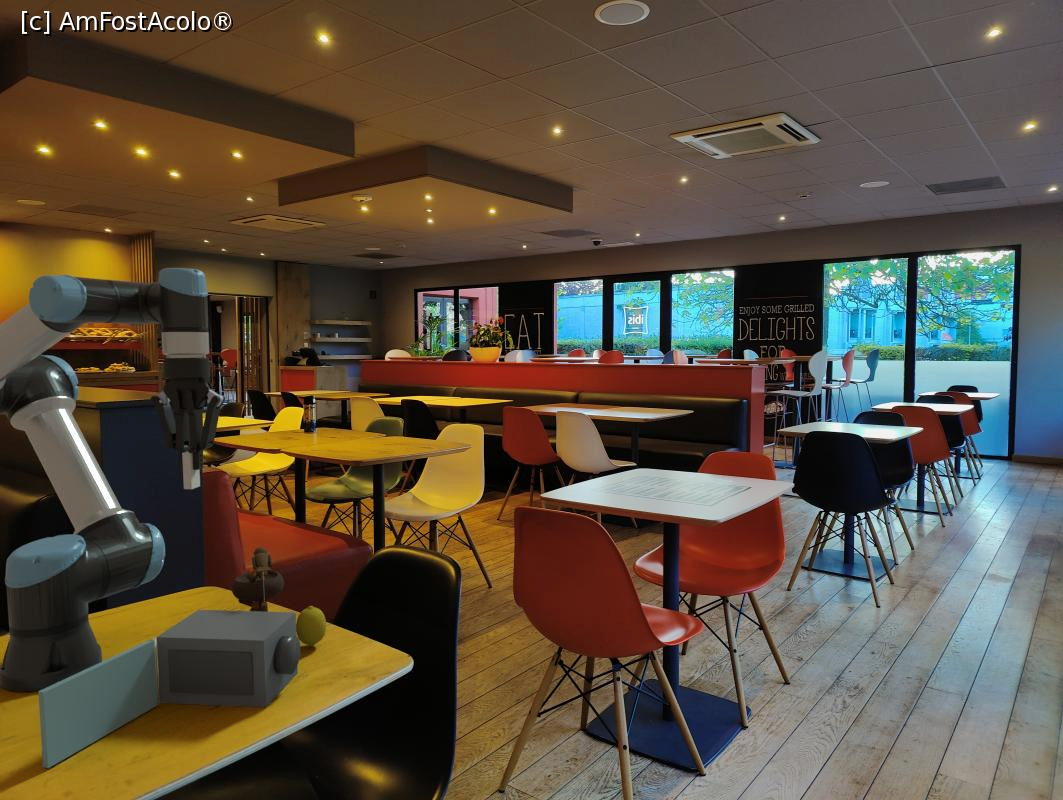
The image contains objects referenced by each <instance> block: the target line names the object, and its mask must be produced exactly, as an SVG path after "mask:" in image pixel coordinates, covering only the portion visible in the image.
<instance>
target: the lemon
mask: <svg viewBox="0 0 1063 800" xmlns="http://www.w3.org/2000/svg"><path fill="white" fill-rule="evenodd" d="M326 630H327V620H326V616H325V614H324V613H323V611H322V610H321V609H320V608H318V607H315V606H313V605H309V606H308V607H306V608H304V609H303V610H301V612H300V613H299V614H298V615H297V618H296V636H297V637H298V639H299V641H300V643H302V644H305V645H308V646H309V647H310V648H312V646H313V647H314V646H315V645H316V644H318V643H319V642H321V641H322V640H323V638H324V637H325V635H326V632H327V631H326Z"/></svg>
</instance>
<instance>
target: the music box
mask: <svg viewBox="0 0 1063 800" xmlns="http://www.w3.org/2000/svg"><path fill="white" fill-rule="evenodd" d="M252 553H253V556H252V557H251V565H252V569H250V570H249V572H244V573H242V574H239V575H237V576H236V578H234V580H233V581H232V584H231V593H232V595H233V596H234V597H235V598H236V599H237V600H238V601H237V602H238V603H239V604H242V605H245V606H246V607H247V606H248V607H250V609H249V611H262V612H269V609H268V607H269V606H268V602H267V601H268V600H269V599H272V598H275V597H277V596H278V595H279V594H280V593H281V592H282V590H283V589H284V585H285V582H284V581H285V580H284V578H283V576H282V574H281V573H280V572H279V571H276V570H272V567H273V562H272V557H271V554H268V550H267V549H266V548H265V547H263V546H258V547H256V548H255V550H254V551H253V552H252ZM256 569H257V570H256Z"/></svg>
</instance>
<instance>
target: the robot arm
mask: <svg viewBox="0 0 1063 800" xmlns="http://www.w3.org/2000/svg"><path fill="white" fill-rule="evenodd" d="M28 292H29V293H28V301H29V302H28V303H27V304H26V305H25V306H23V307H22V308H20V309H19V310H18V311H16V312H15V313H13V314H12V315H11V316H9V317H8V318H7V319H6V320H4V321H3V322H1V324H0V415H6V417H7V419H8V421H9V423H10V424H11V427H13V428H14V429H15V430H18V431H19V430H20V431H24V432H25V434H26V436H27V438H28V440H29V443H30V444H31V446H32V447H33V448H32V449H33V450H34V452H35V454H36V456H37V457H38V460H39V462H40V463H41V466H42V467H43V469H44V471H45V474H46V475H47V477H48V479H49V481H50V483H51V484H52V487H53V489H54V491H55V493H56V494H57V497H58V499H59V500H60V502H61V505H62V506H63V509H64V510H65V512H66V514H67V516H68V518H69V520H70V522H71V524H72V526H73V528H74V532H73V534H59V535H55V536H51V537H50V536H47V537H45V538H44V537H43V538H41V539H38V540H37V539H36V540H34V541H31V542H29V543H26V544H24V545H21V546H20V547H18V548H16V549H15V550H14V551H12V552H11V554H10V555H9V556H8V557H7V559H6V563H5V577H4V584H5V586H6V597H7V614H8V626H9V627H8V628H9V629H8V630H9V639H8V642H7V645H6V648H5V652H4V656H3V659H2V664H1V666H0V687H1V688H3V689H4V690H8V691H11V692H32V691H34V692H35V691H40V690H43V689H45V688H47V687H49V686H51V685H53V684H55V683H58V682H60V681H62V680H64V679H66V678H68V677H70V676H73V675H75V674H77V673H79V672H81V671H83V670H85V669H88V668H90V667H92V666H94V665H96V664H98V663H100V662H103V651H102V648H101V646H100V644H99V643H98V640H97V638H96V636H95V633H94V631H93V629H92V626H91V625H90V621H89V620H90V619H89V618H90V617H89V604H90V603H91V602H92V603H93V602H95V601H98V600H101V599H102V600H103V599H104V598H107V597H110V596H112V595H113V596H114V595H115V594H118V593H121V592H125V591H127V590H131V589H132V590H133V589H136V588H139V587H140V586H142V585H144V584H146V583H150V582H151V581H153V580H154V579H155V578H156V577H157V576H158V575H159V574H160V572H162V568H163V567H164V564H165V563H164V562H165V557H166V543H165V540H164V537H163V535H162V533H161V531H160V530H159V529H158V528H157V527H156V526H155V525H153V524H151V523H147V522H145V523H144V522H143V523H140V521H139V519H138V518H137V516H136V514H135V512H134V511H131V510H130V509H128V510H127V509H125V508H122V506H121V505H120V503H119V501H118V499H117V496H116V495H115V493H114V491H113V489H112V487H111V486H110V484H109V482H108V479H107V478H106V476H105V474H104V472H103V471H102V468H101V466H100V464H99V462H98V461H97V458H96V457H95V455H94V453H93V451H92V450H91V448H90V446H89V443H88V441H87V440H86V438H85V436H84V434H83V432H82V431H81V428H80V427H79V425H78V423H77V421H76V419H75V417H74V415H73V412H74V411H75V409H76V405H77V404H76V402H77V400H78V397H79V395H80V394H79V392H80V388H79V387H78V386H77V385H78V384H79V381H78V380H79V379H78V377H77V374H76V373H75V371H74V369H73V368H72V366H71V365H70V364H69V363H68V362H66V360H64V359H63V358H60V357H57V356H55V355H45V354H44V355H43V353H45V352H46V351H47V350H49V349H50V348H52V347H54V345H56V344H57V343H59V342H60V341H61V340H63V339H64V338H66V337H67V336H69V335H70V334H72V333H73V332H74V331H76V330H77V329H79V328H81V327H82V326H84V325H85V324H123V325H129V326H145V325H155V324H159V325H160V324H161V329H160V330H161V348H162V349H161V351H162V353H161V354H163V356H166V358H164V359H163V360H162V368H163V369H162V370H163V374H162V375H163V378H164V380H165V383H164V385H163V387H162V391H161V392H160V393H159V394H157V395H153V396H151V397H150V402H151V403H152V404H153V406H154V407H155V409H156V412H157V417H158V419H159V422H160V426H161V430H162V431H161V432H162V433H163V437H164V441H165V444H166V445H165V446H166V448H167V449H169V450H171V449H172V450H175V451H176V452H177V455H178V468H179V470H180V471H182V473H183V476H182V477H183V490H194V489H196V488H199V487H201V474H200V470H202V469H203V468H204V451H205V450H208V449H209V448H211V447H213V446H214V444H215V438H216V433H217V429H218V422H219V419H220V412H221V408H222V406H223V404H224V403H225V401H226V396H225V395H223V394H218V393H217V392H215V391H214V390H213V386H212V384H211V382H210V378H211V363H210V362H211V360H210V359H209V357H207V356H206V355H209V354H210V337H209V307H208V296H209V293H208V287H207V280H206V274H205V272H203V271H202V270H200V269H197V268H195V269H194V268H188V267H187V268H185V267H165V268H162V269H161V270H159V272H158V281H155V282H154V281H153V282H152V281H151V282H139V281H138V282H137V281H128V280H127V281H126V280H117V279H115V280H114V279H102V278H93V277H92V278H90V277H82V276H72V275H69V274H59V275H53V274H50V275H49V274H46V275H41V276H39V277H37V278H36V279H35V280H34V281H33V282H32V287H31V288H29V291H28ZM170 402H171V404H172V406H171V404H170ZM206 402H207V406H206V409H205V404H206ZM205 410H206V411H205ZM204 412H205V415H204Z"/></svg>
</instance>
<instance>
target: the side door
mask: <svg viewBox="0 0 1063 800" xmlns="http://www.w3.org/2000/svg"><path fill="white" fill-rule="evenodd" d="M37 691H38V707H39V708H38V709H39V724H40V741H41V742H40V743H41V756H42V759H41V761H42V767H43V768H46V769H50V768H51V767H53V766H54V765H56V764H58V763H60V762H62V761H63V760H65V759H66V758H68V757H70V756H72V755H74V754H76V753H78V752H79V751H81V750H82V749H84V748H86V747H87V746H90V745H91V744H93V743H95V742H96V741H98V740H99V739H101V738H103V737H105V736H107V735H108V734H110V733H112V732H113V731H115V730H117V729H119V728H120V727H122V726H124V725H126V724H127V723H129V722H131V721H133V720H134V719H136V718H138V717H139V716H141V715H143V714H145V713H147V712H148V711H150V710H152V709H153V708H155V707H156V706H158V705H160V698H159V677H158V656H157V637H156V638H155V637H153V638H150V639H148V640H146V641H144V642H141V643H140V644H138V645H135V646H133V647H130V648H129V649H126V650H125V651H122V652H119V653H117V654H116V655H113V656H112V657H109V658H106V659H104V660H102V662H100V663H98V664H96V665H94V666H92V667H90V668H88V669H85V670H83V671H81V672H79V673H77V674H75V675H73V676H70V677H68V678H66V679H64V680H62V681H60V682H58V683H55V684H53V685H51V686H49V687H47V688H45V689H43V690H37Z"/></svg>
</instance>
